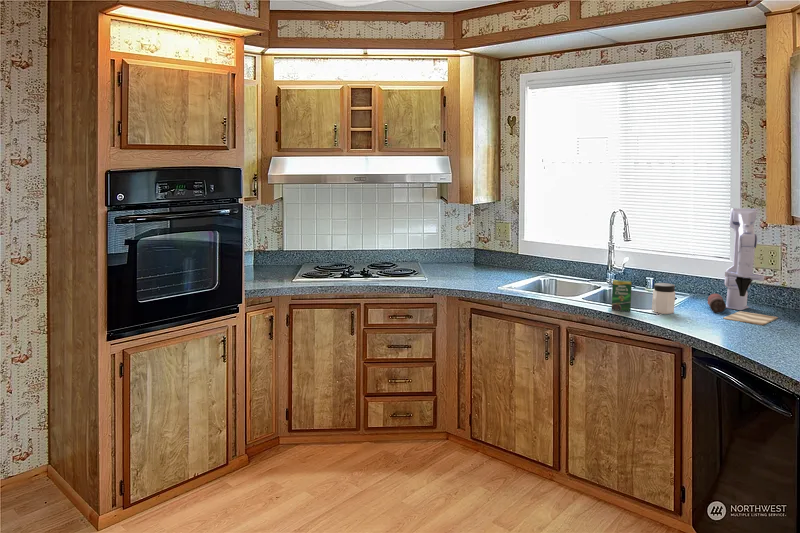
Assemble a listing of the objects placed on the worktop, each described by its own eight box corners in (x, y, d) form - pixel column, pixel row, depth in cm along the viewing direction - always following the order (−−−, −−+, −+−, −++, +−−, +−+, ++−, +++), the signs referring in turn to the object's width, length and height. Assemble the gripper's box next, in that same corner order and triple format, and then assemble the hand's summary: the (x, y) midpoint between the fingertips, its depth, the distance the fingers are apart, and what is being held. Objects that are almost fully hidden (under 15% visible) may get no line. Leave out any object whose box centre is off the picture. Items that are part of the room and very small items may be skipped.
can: (711, 314, 286) (708, 308, 299) (727, 311, 284) (724, 304, 297) (707, 301, 286) (705, 295, 299) (723, 297, 284) (720, 291, 297)
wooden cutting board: (739, 312, 287) (739, 311, 287) (777, 318, 277) (777, 317, 277) (723, 318, 275) (723, 317, 275) (762, 325, 264) (762, 324, 264)
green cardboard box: (610, 310, 289) (612, 280, 287) (611, 308, 292) (613, 279, 289) (630, 312, 286) (632, 281, 284) (630, 310, 288) (632, 280, 286)
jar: (649, 309, 291) (651, 282, 289) (668, 309, 291) (670, 282, 289) (656, 314, 282) (658, 286, 280) (676, 314, 282) (678, 286, 280)
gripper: (723, 262, 275) (720, 294, 277) (761, 266, 264) (757, 300, 267) (729, 260, 280) (726, 292, 282) (767, 264, 269) (763, 297, 271)
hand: (742, 295), depth 275 cm, fingers closed
